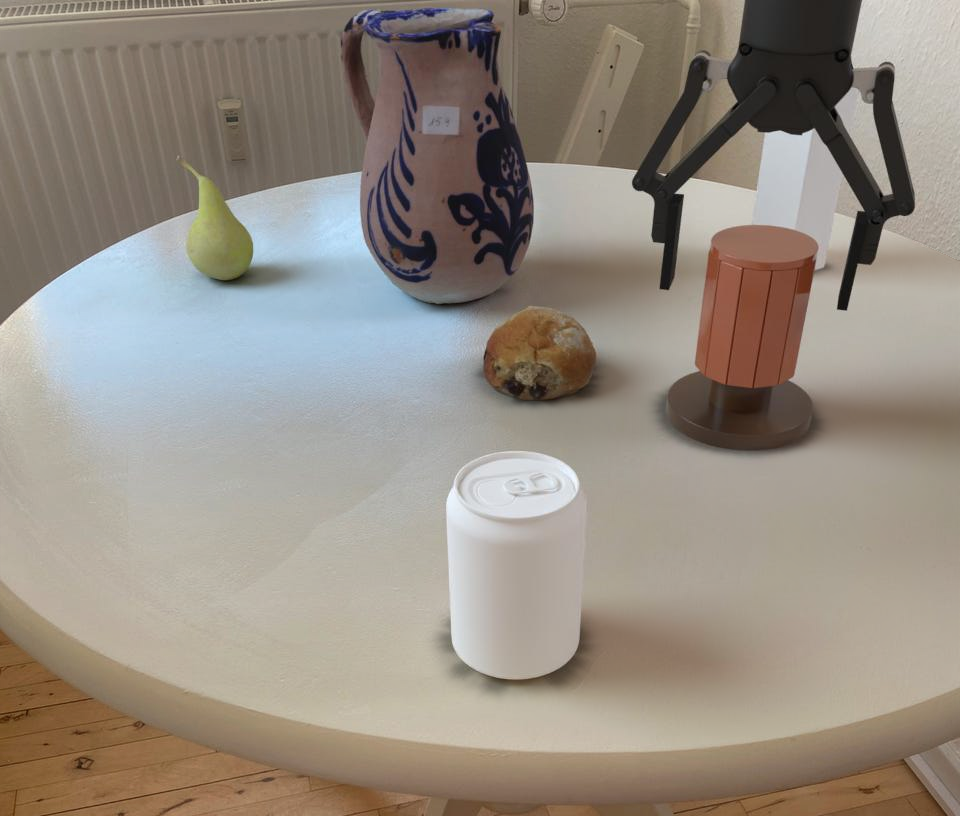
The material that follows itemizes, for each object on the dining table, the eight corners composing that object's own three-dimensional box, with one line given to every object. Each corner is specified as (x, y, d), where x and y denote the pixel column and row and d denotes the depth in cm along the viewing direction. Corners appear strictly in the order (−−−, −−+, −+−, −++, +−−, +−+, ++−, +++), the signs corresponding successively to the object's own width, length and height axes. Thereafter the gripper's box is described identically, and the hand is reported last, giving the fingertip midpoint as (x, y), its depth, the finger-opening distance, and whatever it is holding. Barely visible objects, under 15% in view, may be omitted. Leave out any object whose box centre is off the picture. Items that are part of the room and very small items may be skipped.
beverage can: (436, 619, 70) (428, 460, 62) (551, 594, 71) (557, 436, 64) (474, 699, 64) (470, 534, 56) (598, 670, 66) (611, 506, 58)
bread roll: (601, 419, 97) (631, 333, 94) (533, 411, 89) (564, 317, 86) (522, 385, 102) (548, 302, 99) (452, 375, 94) (477, 284, 92)
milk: (824, 268, 114) (872, 38, 100) (785, 281, 112) (829, 47, 97) (781, 251, 118) (821, 27, 104) (743, 264, 116) (779, 35, 101)
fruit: (228, 295, 111) (207, 175, 103) (175, 281, 114) (151, 164, 106) (269, 274, 115) (252, 157, 108) (218, 261, 118) (198, 147, 111)
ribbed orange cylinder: (798, 350, 89) (821, 229, 82) (790, 393, 83) (815, 267, 77) (703, 339, 91) (718, 220, 84) (688, 380, 85) (704, 256, 78)
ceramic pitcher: (480, 336, 102) (475, 46, 86) (305, 296, 111) (271, 23, 94) (561, 275, 114) (570, 8, 98) (397, 242, 122) (380, -9, 106)
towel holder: (814, 392, 93) (847, 231, 84) (804, 460, 84) (840, 288, 75) (677, 375, 96) (696, 217, 87) (654, 440, 87) (672, 272, 78)
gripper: (607, -22, 69) (587, 293, 83) (1014, -2, 64) (920, 332, 77) (629, -40, 75) (606, 258, 89) (1006, -23, 69) (919, 293, 83)
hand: (753, 293), depth 83 cm, fingers open, 13 cm apart
